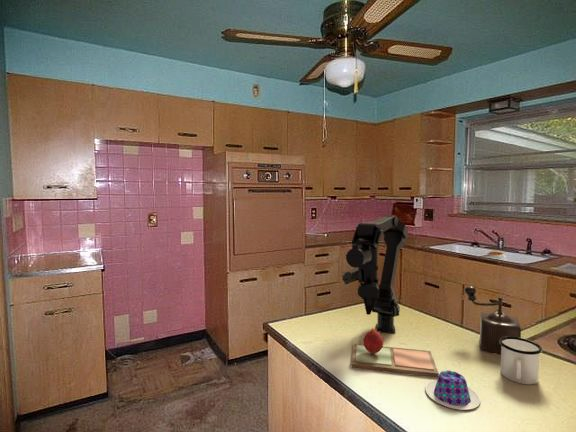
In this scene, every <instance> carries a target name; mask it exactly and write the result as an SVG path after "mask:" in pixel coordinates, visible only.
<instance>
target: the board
mask: <svg viewBox="0 0 576 432" xmlns="http://www.w3.org/2000/svg"><path fill="white" fill-rule="evenodd" d="M351 369H358V370H367V371H373V372H375V371H376V372H385V373H390V374H391V373H393V374H399V375H400V374H402V375H410V376H418V377H428V378H434V379H435V378H437V379H438V376H439V374H440V372H439V370H438V368H437V365H436V363H435V360H434V357H433V354H432V351H431V350H424V349H414V348H403V347H393V346H385V345H383V347H382V349H381V350H380V351H379V352H377V353H375V354H371V353H370V352H368V351H367V350H366V348H365V347H364V344H363V343H353V349H352V357H351Z"/></svg>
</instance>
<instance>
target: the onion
mask: <svg viewBox="0 0 576 432" xmlns="http://www.w3.org/2000/svg"><path fill="white" fill-rule="evenodd" d="M362 344H364V347H365V348H366V350H367V351H368V352H370V353H371V354H375V353H377V352H379V351H380V350H381V349H382V347H383V346H384V340H383V337H382V335H381V334H380V332H377V331H376V327H371V329H370V330H369V331H368V332H366V333H365V334H364V336H363V340H362Z"/></svg>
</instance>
